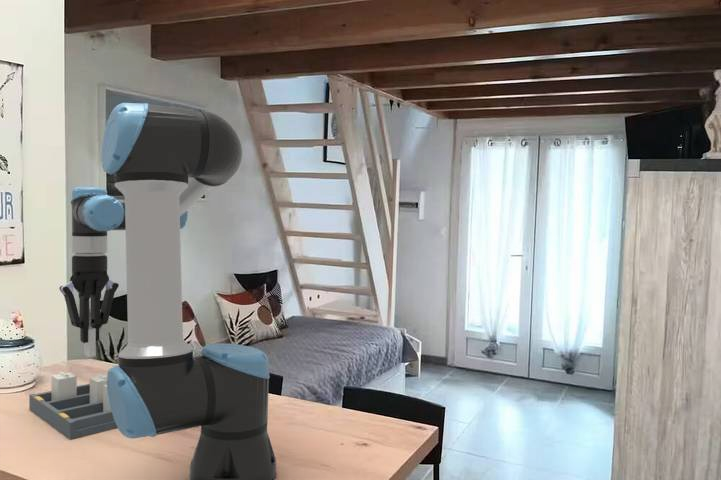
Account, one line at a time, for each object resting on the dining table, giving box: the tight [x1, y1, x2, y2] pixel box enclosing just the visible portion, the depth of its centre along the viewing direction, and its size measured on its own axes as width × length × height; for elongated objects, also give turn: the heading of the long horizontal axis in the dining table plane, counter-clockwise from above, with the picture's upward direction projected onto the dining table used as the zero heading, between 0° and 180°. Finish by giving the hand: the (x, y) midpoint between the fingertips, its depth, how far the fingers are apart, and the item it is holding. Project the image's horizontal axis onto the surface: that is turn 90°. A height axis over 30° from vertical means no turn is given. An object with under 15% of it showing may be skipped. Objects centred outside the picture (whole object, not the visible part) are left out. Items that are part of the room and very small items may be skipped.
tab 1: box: [103, 385, 111, 412], centre depth 134 cm, size 4×4×7 cm
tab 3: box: [50, 371, 78, 401], centre depth 139 cm, size 4×4×7 cm
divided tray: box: [28, 383, 118, 440], centre depth 136 cm, size 23×15×4 cm, turn 47°
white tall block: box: [89, 373, 107, 404], centre depth 139 cm, size 4×4×7 cm
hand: (89, 355), depth 143 cm, fingers closed
